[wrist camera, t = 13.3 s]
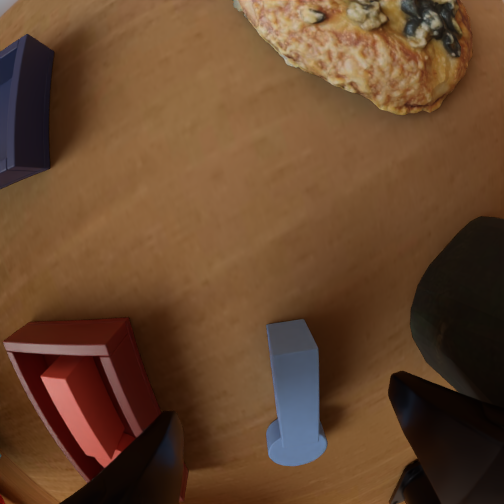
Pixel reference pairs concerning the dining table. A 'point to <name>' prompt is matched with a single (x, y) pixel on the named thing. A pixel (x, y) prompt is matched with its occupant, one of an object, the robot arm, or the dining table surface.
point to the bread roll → (372, 45)
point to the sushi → (465, 312)
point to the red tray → (109, 367)
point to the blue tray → (24, 109)
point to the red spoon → (86, 407)
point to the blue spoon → (294, 395)
